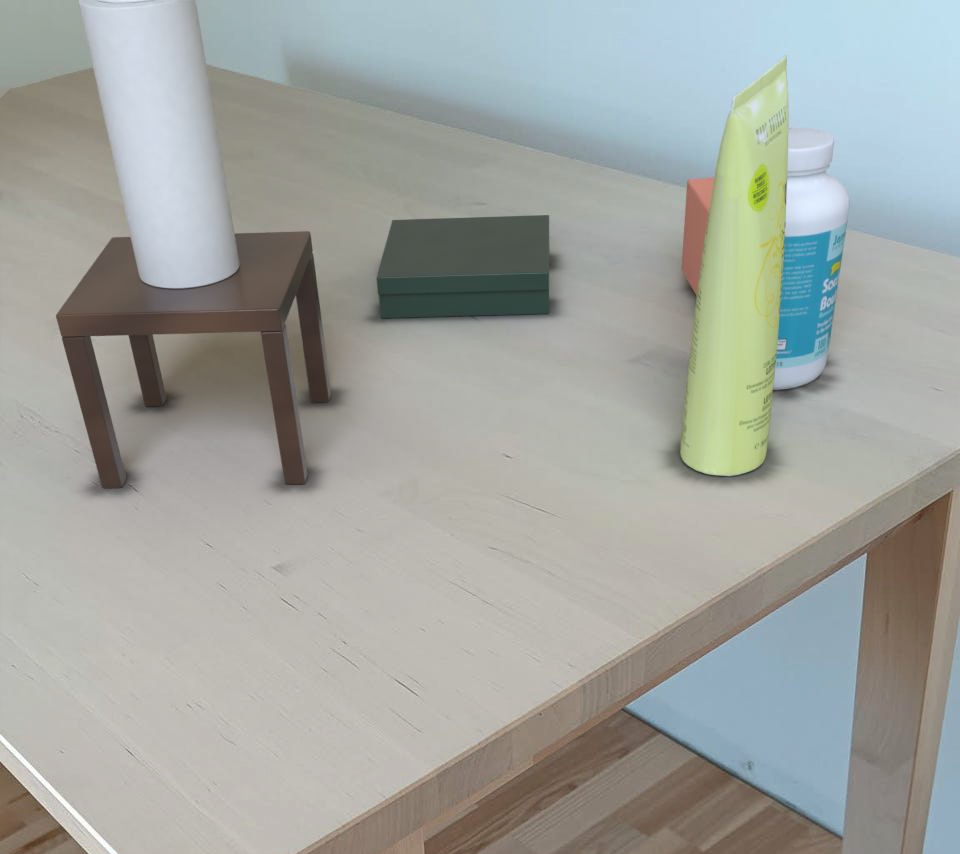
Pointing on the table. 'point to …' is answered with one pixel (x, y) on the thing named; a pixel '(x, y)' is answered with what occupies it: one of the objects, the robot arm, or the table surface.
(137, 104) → the bottle
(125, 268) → the small brown table
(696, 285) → the salmon pink upright block
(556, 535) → the table surface
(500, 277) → the green lidded gift box
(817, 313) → the pill bottle
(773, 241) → the tube
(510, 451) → the table surface
